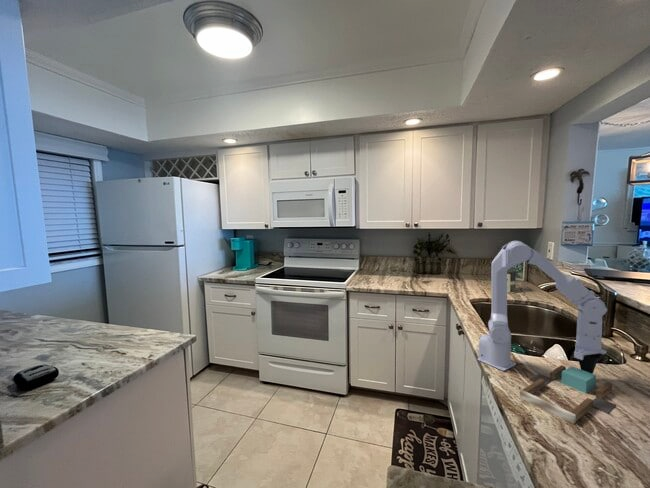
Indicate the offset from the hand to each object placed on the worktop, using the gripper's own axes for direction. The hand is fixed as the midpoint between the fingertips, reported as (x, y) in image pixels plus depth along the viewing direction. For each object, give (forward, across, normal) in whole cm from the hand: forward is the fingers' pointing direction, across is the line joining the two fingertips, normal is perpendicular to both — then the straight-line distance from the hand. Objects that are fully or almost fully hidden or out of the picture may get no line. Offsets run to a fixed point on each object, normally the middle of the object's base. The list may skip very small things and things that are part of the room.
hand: (586, 374), depth 89 cm
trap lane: (+1, -13, 0) cm, 13 cm away
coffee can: (+2, +82, +68) cm, 106 cm away
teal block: (+2, -6, 0) cm, 6 cm away
